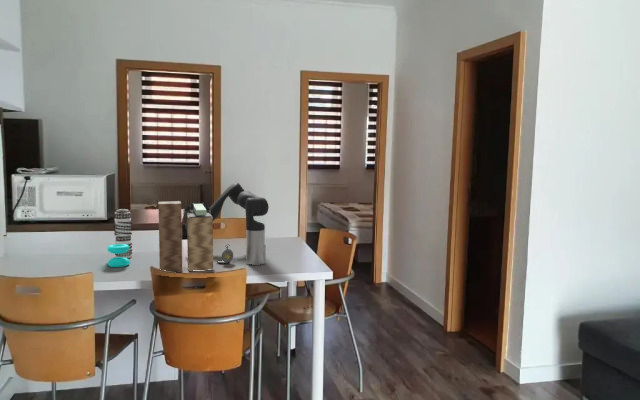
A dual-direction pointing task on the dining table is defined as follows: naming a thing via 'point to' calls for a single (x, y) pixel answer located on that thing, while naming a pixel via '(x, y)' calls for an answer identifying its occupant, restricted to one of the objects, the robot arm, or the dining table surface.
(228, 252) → the pocket watch
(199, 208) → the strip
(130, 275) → the dining table surface
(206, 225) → the oak block
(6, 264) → the dining table surface
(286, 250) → the dining table surface
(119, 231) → the decorative candle
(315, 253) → the dining table surface
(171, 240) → the walnut stand
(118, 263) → the donuts
